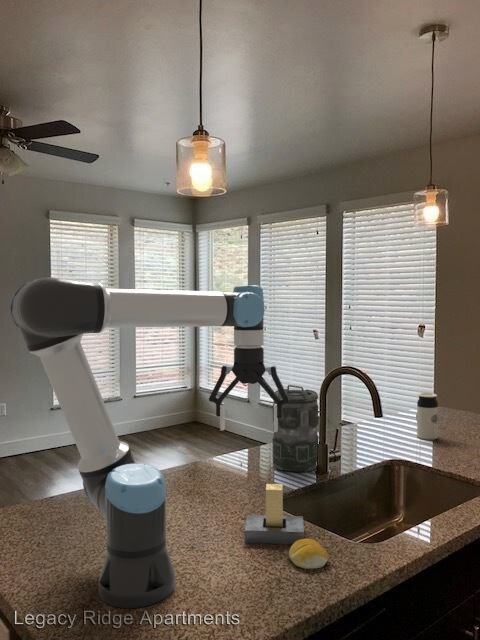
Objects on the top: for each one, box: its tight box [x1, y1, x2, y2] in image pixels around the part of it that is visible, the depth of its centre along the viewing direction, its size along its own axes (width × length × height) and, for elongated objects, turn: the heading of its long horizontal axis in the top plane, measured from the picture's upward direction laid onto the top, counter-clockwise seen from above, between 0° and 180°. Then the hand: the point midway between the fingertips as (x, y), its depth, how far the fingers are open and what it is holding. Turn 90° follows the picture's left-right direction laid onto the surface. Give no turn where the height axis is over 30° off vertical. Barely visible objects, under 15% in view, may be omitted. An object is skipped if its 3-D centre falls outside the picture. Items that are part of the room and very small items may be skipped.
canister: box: [271, 384, 320, 473], centre depth 183 cm, size 16×16×28 cm
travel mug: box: [416, 392, 439, 441], centre depth 219 cm, size 8×8×18 cm
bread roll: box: [288, 538, 329, 570], centre depth 118 cm, size 8×9×4 cm
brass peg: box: [265, 483, 284, 528], centre depth 129 cm, size 4×4×12 cm
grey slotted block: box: [244, 514, 305, 545], centre depth 130 cm, size 9×14×3 cm, turn 85°
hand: (249, 430), depth 135 cm, fingers open, 13 cm apart
